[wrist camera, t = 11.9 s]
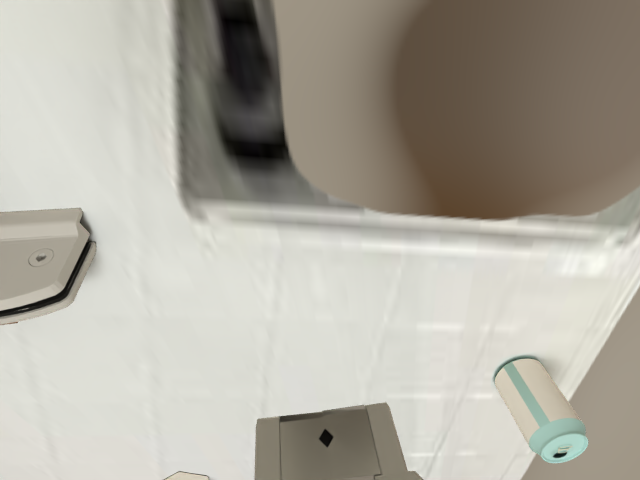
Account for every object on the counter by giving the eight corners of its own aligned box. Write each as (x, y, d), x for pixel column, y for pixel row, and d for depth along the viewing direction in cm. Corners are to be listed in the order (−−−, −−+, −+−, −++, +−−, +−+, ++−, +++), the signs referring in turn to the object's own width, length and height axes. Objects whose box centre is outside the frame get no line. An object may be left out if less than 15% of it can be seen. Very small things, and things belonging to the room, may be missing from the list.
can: (548, 372, 63) (602, 448, 53) (505, 395, 65) (549, 473, 55) (528, 347, 60) (582, 423, 50) (484, 372, 62) (527, 451, 51)
